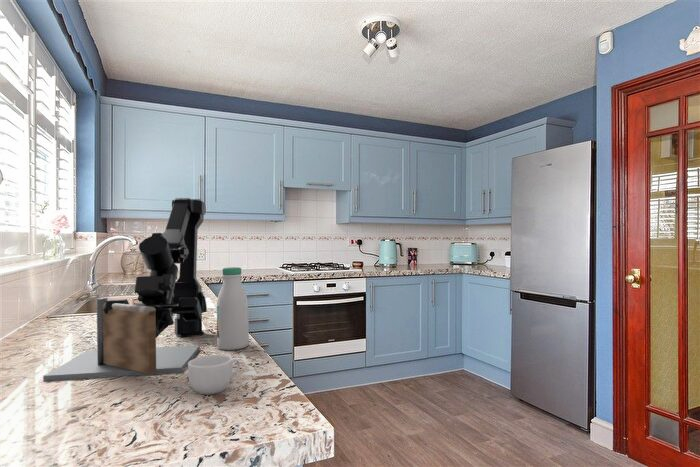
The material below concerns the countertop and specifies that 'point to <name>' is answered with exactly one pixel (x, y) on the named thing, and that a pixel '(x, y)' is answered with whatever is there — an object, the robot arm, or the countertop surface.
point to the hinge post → (100, 330)
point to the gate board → (89, 368)
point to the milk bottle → (232, 312)
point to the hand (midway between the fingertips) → (145, 345)
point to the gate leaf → (130, 337)
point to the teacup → (211, 373)
